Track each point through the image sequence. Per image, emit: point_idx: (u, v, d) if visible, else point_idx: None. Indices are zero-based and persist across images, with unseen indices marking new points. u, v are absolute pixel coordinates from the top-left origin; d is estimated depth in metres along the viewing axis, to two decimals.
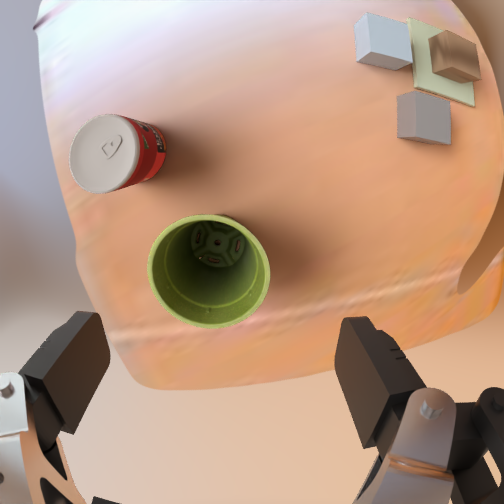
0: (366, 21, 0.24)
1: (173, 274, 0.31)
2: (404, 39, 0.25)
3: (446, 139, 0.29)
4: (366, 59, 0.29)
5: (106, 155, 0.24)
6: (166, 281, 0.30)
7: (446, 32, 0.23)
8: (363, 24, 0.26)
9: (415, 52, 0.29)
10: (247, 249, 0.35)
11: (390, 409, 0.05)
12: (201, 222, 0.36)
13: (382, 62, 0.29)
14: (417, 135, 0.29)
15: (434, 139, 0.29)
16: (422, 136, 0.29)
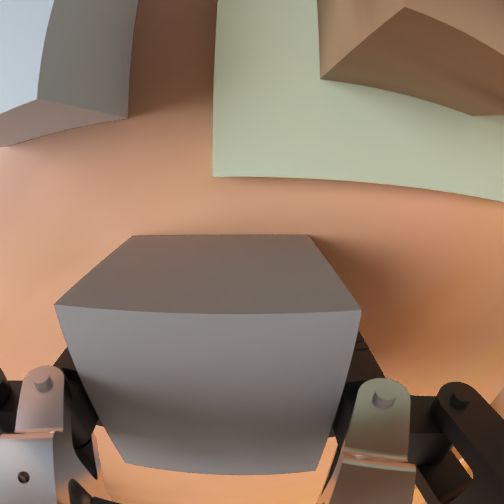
0: None
1: None
2: None
3: (293, 464, 0.07)
4: None
5: None
6: None
7: None
8: None
9: (226, 2, 0.06)
10: None
11: (345, 398, 0.06)
12: None
13: (25, 131, 0.06)
14: (130, 461, 0.07)
15: (219, 472, 0.07)
16: (154, 465, 0.07)
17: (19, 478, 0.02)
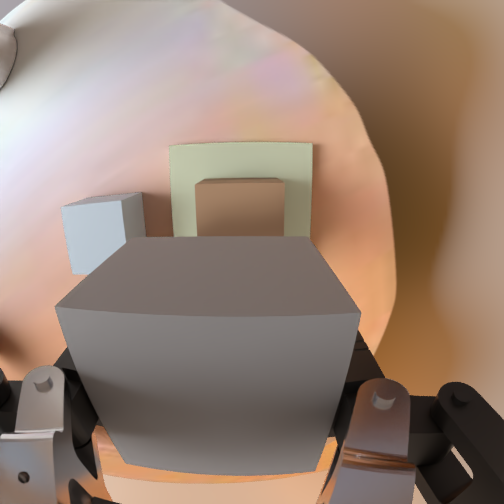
0: (64, 222, 0.21)
1: None
2: (114, 235, 0.21)
3: (293, 465, 0.07)
4: None
5: None
6: None
7: (195, 190, 0.19)
8: None
9: (175, 218, 0.25)
10: None
11: (344, 398, 0.06)
12: None
13: None
14: (131, 462, 0.07)
15: (219, 472, 0.07)
16: (154, 465, 0.07)
17: (18, 479, 0.02)
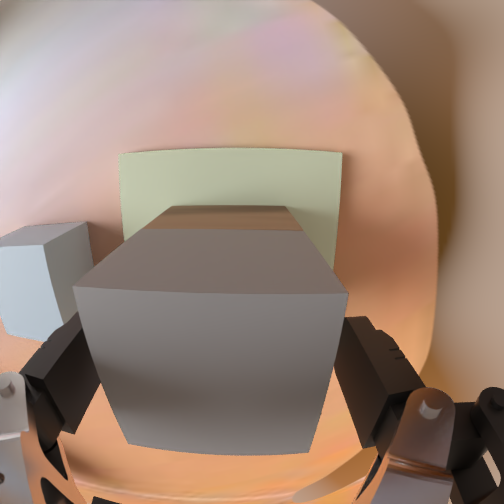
0: None
1: None
2: (42, 294, 0.12)
3: (288, 445, 0.07)
4: None
5: None
6: None
7: None
8: None
9: None
10: None
11: (389, 409, 0.05)
12: None
13: None
14: (133, 442, 0.07)
15: (217, 452, 0.08)
16: (156, 445, 0.07)
17: None
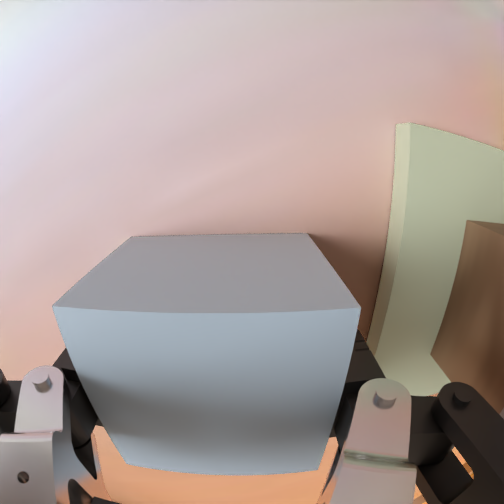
0: (74, 354, 0.05)
1: None
2: (297, 412, 0.06)
3: None
4: None
5: None
6: None
7: None
8: None
9: (392, 305, 0.10)
10: None
11: (346, 398, 0.06)
12: None
13: None
14: None
15: None
16: None
17: (18, 479, 0.02)
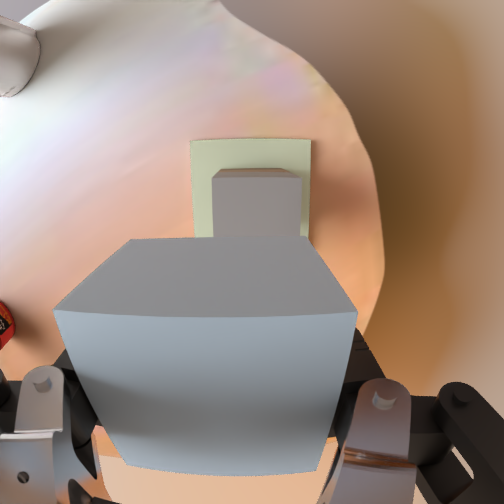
0: (74, 356, 0.05)
1: None
2: (295, 414, 0.06)
3: None
4: None
5: None
6: None
7: None
8: None
9: (195, 202, 0.29)
10: None
11: (345, 399, 0.06)
12: None
13: None
14: None
15: None
16: None
17: (18, 479, 0.02)
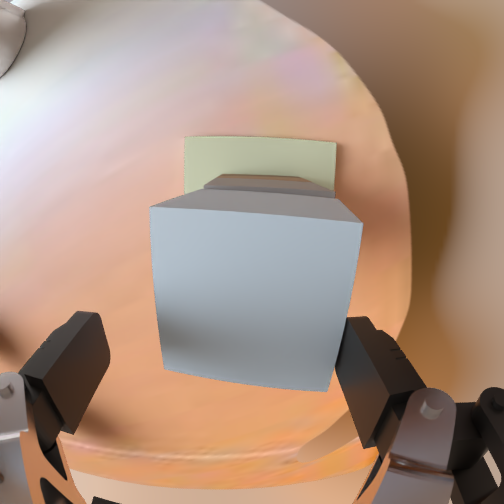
0: (154, 249, 0.09)
1: None
2: (315, 311, 0.08)
3: None
4: None
5: None
6: None
7: None
8: None
9: None
10: None
11: (390, 409, 0.05)
12: None
13: None
14: None
15: None
16: None
17: None
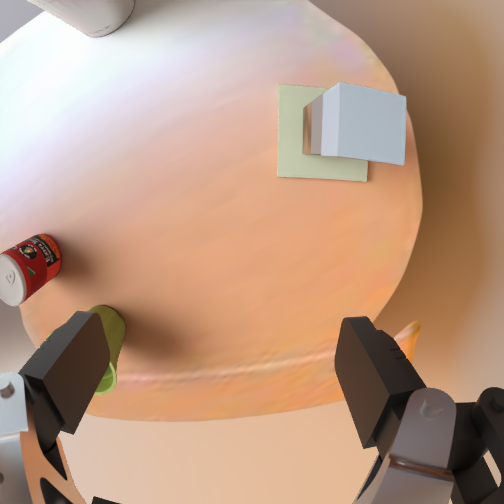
0: (338, 98, 0.19)
1: None
2: (396, 125, 0.20)
3: None
4: (333, 156, 0.24)
5: (9, 282, 0.29)
6: None
7: None
8: (334, 100, 0.20)
9: (280, 132, 0.34)
10: (121, 335, 0.41)
11: (390, 409, 0.05)
12: None
13: (358, 159, 0.23)
14: None
15: None
16: None
17: None
